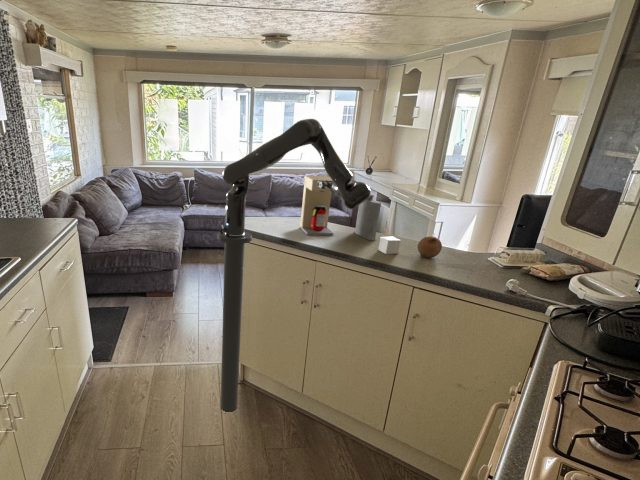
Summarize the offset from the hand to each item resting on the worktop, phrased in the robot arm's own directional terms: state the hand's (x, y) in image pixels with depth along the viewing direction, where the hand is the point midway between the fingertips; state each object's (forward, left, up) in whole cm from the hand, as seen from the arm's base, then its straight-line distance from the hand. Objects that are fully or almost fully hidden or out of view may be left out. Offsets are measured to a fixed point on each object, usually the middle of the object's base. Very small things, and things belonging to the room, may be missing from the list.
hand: (330, 182), depth 192 cm
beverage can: (+1, +11, -25) cm, 27 cm away
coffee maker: (+1, +13, -26) cm, 29 cm away
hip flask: (+22, +3, -26) cm, 34 cm away
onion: (+35, -30, -26) cm, 53 cm away
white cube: (+21, -22, -26) cm, 40 cm away
